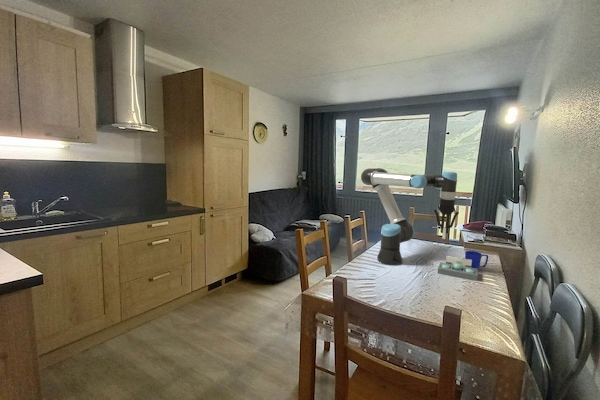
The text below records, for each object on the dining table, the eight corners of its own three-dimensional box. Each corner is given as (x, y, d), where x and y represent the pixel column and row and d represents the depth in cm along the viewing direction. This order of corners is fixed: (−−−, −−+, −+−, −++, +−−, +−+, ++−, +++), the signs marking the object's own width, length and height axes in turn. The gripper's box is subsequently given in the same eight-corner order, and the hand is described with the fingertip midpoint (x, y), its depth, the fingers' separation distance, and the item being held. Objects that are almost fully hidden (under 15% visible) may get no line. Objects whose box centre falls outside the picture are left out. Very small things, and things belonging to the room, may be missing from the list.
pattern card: (445, 267, 167) (446, 256, 166) (445, 267, 168) (446, 255, 167) (470, 272, 160) (471, 260, 159) (470, 271, 161) (471, 259, 160)
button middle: (452, 269, 157) (453, 264, 156) (453, 267, 160) (453, 262, 160) (461, 271, 154) (462, 266, 154) (462, 268, 158) (462, 263, 158)
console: (437, 273, 158) (437, 268, 157) (439, 267, 168) (440, 262, 167) (477, 280, 148) (477, 275, 147) (476, 273, 158) (477, 268, 157)
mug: (490, 272, 159) (491, 256, 158) (466, 271, 162) (468, 254, 160) (483, 267, 167) (485, 251, 166) (461, 266, 170) (463, 250, 168)
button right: (464, 275, 154) (465, 270, 153) (465, 272, 157) (465, 267, 157) (474, 277, 151) (474, 271, 151) (474, 274, 155) (474, 269, 155)
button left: (440, 270, 160) (441, 265, 160) (441, 268, 164) (442, 263, 163) (449, 272, 158) (449, 267, 157) (450, 270, 161) (450, 265, 161)
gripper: (434, 198, 160) (430, 238, 164) (460, 200, 153) (455, 241, 156) (436, 197, 167) (432, 235, 170) (461, 199, 159) (457, 239, 163)
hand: (443, 238), depth 163 cm, fingers closed
